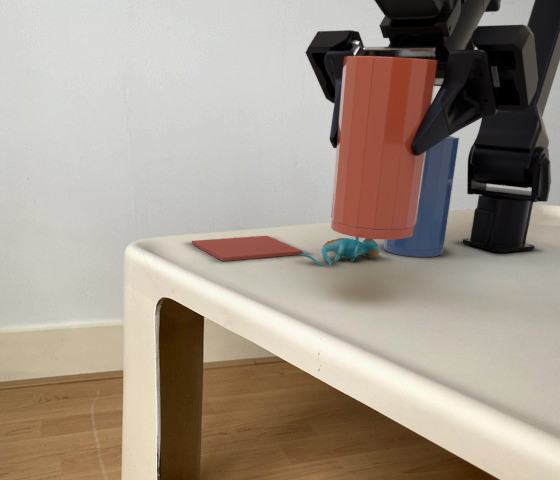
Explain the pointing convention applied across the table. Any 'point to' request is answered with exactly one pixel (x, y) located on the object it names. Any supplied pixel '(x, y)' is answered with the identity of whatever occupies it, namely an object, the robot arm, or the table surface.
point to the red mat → (246, 248)
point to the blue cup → (431, 203)
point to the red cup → (380, 145)
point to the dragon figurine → (348, 249)
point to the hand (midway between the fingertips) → (371, 147)
